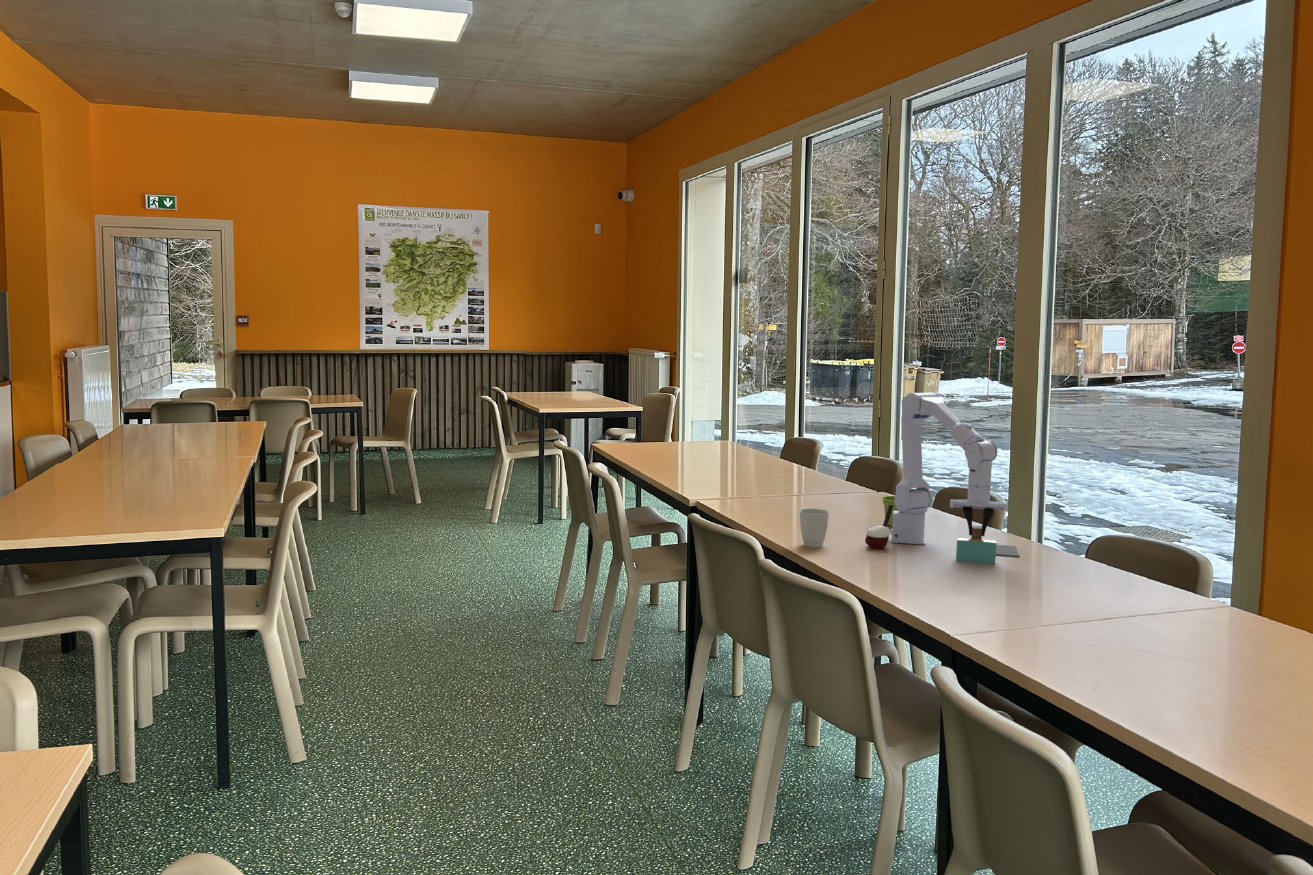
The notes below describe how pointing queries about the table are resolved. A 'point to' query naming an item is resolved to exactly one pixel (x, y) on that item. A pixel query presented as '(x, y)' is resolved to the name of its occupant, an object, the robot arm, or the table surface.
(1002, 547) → the mat
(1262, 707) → the table surface
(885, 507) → the plant pot
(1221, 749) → the table surface
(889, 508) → the cocoa
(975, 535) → the stick
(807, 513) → the cup
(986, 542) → the tile
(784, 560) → the table surface
